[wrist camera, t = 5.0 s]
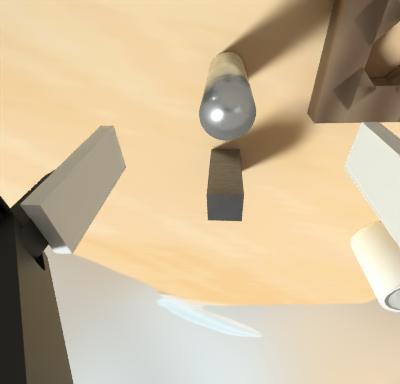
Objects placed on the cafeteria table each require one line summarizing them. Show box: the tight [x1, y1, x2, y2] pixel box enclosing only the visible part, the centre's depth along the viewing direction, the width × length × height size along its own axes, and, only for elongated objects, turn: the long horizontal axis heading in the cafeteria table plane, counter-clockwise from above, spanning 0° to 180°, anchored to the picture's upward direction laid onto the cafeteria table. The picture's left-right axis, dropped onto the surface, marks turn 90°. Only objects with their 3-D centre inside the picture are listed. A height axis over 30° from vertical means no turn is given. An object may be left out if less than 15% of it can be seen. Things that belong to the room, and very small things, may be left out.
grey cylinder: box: [199, 52, 256, 140], centre depth 21 cm, size 4×4×13 cm
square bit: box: [207, 150, 244, 221], centre depth 30 cm, size 4×4×10 cm
